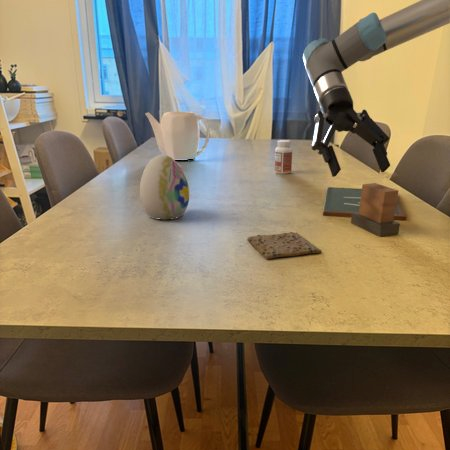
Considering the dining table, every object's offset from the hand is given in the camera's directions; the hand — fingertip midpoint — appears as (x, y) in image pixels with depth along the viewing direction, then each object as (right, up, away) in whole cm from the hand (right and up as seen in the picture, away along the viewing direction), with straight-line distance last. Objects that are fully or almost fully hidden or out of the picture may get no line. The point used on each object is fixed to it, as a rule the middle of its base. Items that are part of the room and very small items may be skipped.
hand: (361, 171), depth 101 cm
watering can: (-52, +30, +85) cm, 104 cm away
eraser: (+3, -14, -1) cm, 14 cm away
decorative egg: (-47, -9, +10) cm, 49 cm away
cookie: (-20, -19, -11) cm, 30 cm away
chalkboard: (+6, -3, +19) cm, 20 cm away
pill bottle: (-11, +17, +58) cm, 62 cm away
